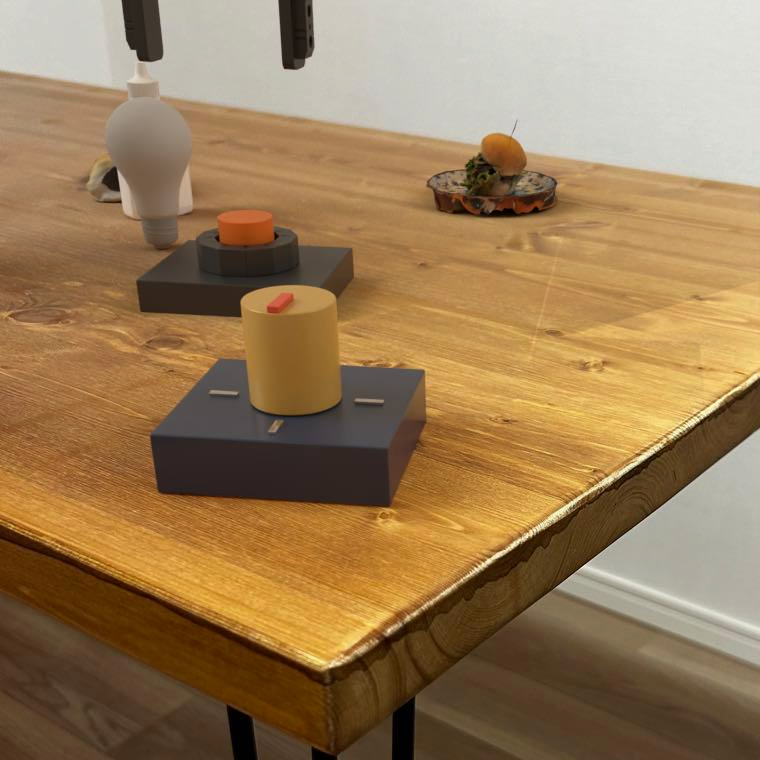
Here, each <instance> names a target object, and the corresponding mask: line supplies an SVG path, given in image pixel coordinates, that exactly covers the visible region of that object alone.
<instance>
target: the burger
mask: <svg viewBox="0 0 760 760" xmlns="http://www.w3.org/2000/svg"><path fill="white" fill-rule="evenodd" d="M518 120H519V119H518V118H516V121H515V124H514V127H513V130H512V132H511V134H510V135H508V134H506V133H503V132H493V133H489V134H487V135H486V136H485V137H483V138H482V139H481V142H480V148H481V149H478V151H477V152H476V155H473V156H472V158H471V159H470V158H469V159H468V162H467V163H464V169H462V168H461V169H453V170H446V171H445V170H444V171H441V172H440V173H436V174H434V175H433V176H431V177H430V178H429V179H428V180H427V181H426V185H425V187H426V188H429V189H431V190H432V192H433V197H434V203H435V208H436V210H437V211H441V210H442V211H443V212H448V213H451V214H452V213H453V212H454V208H455V207H454V202H460V203H461V204H462V206H463V207H464V208H465V209H466V210H467V211H468V212H470V213H473V214H475V215H480V214H481V213H482V212H483V213H485V214H486V215H489V214H490V213H492V212H493V211H497V210H498V211H500V212H502V211H504V209H508V210H509V209H512V210H513V212H515V214H517V215H519V214H521V213H529V212H531V211H532V210H534V208H535V207H537V208H538V211H542V210H546V209H550V208H551V207H553V206H554V205H556V204H557V203H558V201H559V197H558V196H557V195H556V188H557V186H558V181H557V180H556V179H555V178H554V177H553V176H551V175H550V176H549V175H546V174H544V173H541V172H537V171H529V170H525V168H526V167H527V165H528V160H527V159H528V158H527V154H526V152H525V150H524V148H523V146H522V144H521V143H520V142H519V140H517V139H516V138H515V137H513V134H514V132H515V129H516V127H517V123H518Z"/></svg>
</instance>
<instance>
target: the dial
mask: <svg viewBox="0 0 760 760" xmlns="http://www.w3.org/2000/svg"><path fill="white" fill-rule="evenodd" d="M337 305H338V304H337V300H336V297H335V295H334V294H333V293H331V292H330V291H327V290H325V289H321V288H317V287H311V286H301V285H284V286H274V287H267V288H263V289H259V290H255V291H253V292H250V293H248V294H246V295H245V296H244V297H243V298H242V299H241V313H242V317H241V322H242V323H241V324H242V333H243V341H244V352H245V360H246V363H247V373H248V383H249V393H250V401H251V403H252V405H253V406H254V407H255V408H257V409H258V410H261V411H263V412H266V413H270V414H276V415H306V414H313V413H317V412H321V411H324V410H327V409H329V408H332V407H333V406H335V405H336V404H338V403H339V402H340V400H341V398H342V387H341V371H340V365H341V356H340V339H339V338H340V337H339V323H338V320H339V319H338V306H337Z"/></svg>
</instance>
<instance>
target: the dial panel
mask: <svg viewBox="0 0 760 760" xmlns="http://www.w3.org/2000/svg"><path fill="white" fill-rule="evenodd" d="M340 371H341V387H342V398H341V400H340V402H339V403H338V404H336V405H335V406H333V407H332V408H329V409H327V410H324V411H321V412H317V413H313V414H306V415H276V414H270V413H266V412H263V411H261V410H258V409H257V408H255V407H254V406H253V405H252V403H251V401H250V393H249V383H248V373H247V363H246V359H238V358H237V359H235V358H221V357H220V358H218V359H217V360H216V361H215V363H213V365H212V366H210V368H209V369H208V370H207V371H206V372H205V374H204V375H202V377H200V378H199V380H198V381H197V382H196V383H195V384H194V385H193V386H192V388H191V389H190V390H189V391H188V392H187V393H186V394H185V395H184V397H182V399H181V400H180V401H179V402H178V403H177V404H176V405H175V406H174V407H173V408H172V410H170V411H169V412H168V413H167V415H166V416H165V417H164V418H163V419H162V420H161V422H160V423H159V424H158V425H157V426H156V427H155V428H154V429H153V430H152V431H151V432H150V433H149V441H150V448H151V455H152V462H153V469H154V475H155V482H156V489H157V493H159V494H160V493H161V494H177V495H178V494H179V495H193V496H207V497H210V496H211V497H227V498H241V499H242V498H243V499H258V500H273V501H275V500H276V501H289V502H307V503H323V504H336V505H337V504H339V505H356V506H369V507H370V506H371V507H385V508H386V507H387V508H388V507H389V508H390V507H391V505H392V502H393V500H394V498H395V495H396V493H397V491H398V488H399V486H400V484H401V481H402V479H403V476H404V474H405V472H406V469H407V467H408V465H409V464H410V463H409V462H410V460H411V458H412V455H413V454H414V450H415V448H416V447H417V443H418V441H419V439H420V436H421V434H422V432H423V430H424V427H425V425H426V422H427V396H426V395H427V394H426V371H425V369H419V368H402V367H383V366H368V365H367V366H365V365H345V364H340Z"/></svg>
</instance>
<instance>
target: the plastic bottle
mask: <svg viewBox="0 0 760 760" xmlns="http://www.w3.org/2000/svg"><path fill="white" fill-rule="evenodd" d="M126 89H127V98H128V100H131V99H134V98H138V97H150V98H155V99H159V100H161V93H160V85H159V80H157V79H156V78H153V77H152V76H151V75H150V74H149V72H148V68H147V66H146V62H141V61H135V62H134V74H133V76H132V77H131V78H129V79H127V80H126ZM189 163H190V162H189ZM189 163H188V166H187V169H186V171H185V173H184V176H183V178H182V182H181V186H180V193H179V209H180V210H179V213H178V214H177V217H180V216H183V215H186V214H189V213H191V212H192V211H193V210H194V199H193V191H192V189H193V188H192V181H191V173H190V165H189ZM117 171H118V169H117ZM118 178H119V185H120V192H121V199H122V201H121V205H122V210H123V211H122V212H123V213H124V215H125V216H126V217H128V218H130V219H133V220H135V221H141V217H140V215H138V214H137V212H136V207H135V202H134V199H133V196H132V193H131V190H130V188H129V186H128V184H127V183H126V181H125V179H124V178H123V176H122V175H121V174H120V172H119V171H118Z"/></svg>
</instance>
